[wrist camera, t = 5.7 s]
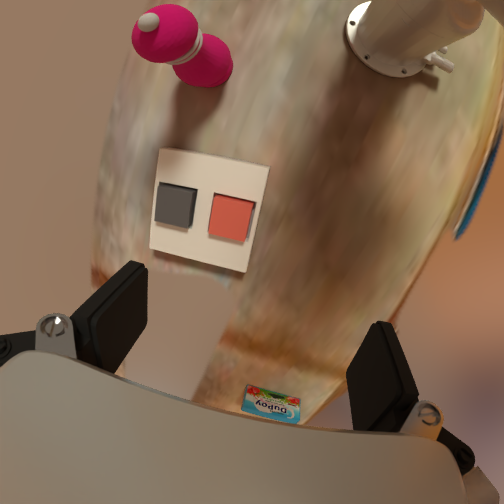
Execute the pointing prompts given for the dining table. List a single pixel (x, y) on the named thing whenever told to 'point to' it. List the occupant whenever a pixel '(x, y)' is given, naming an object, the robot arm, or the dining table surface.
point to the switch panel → (208, 205)
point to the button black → (175, 205)
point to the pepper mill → (182, 46)
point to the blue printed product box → (271, 404)
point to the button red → (230, 217)
